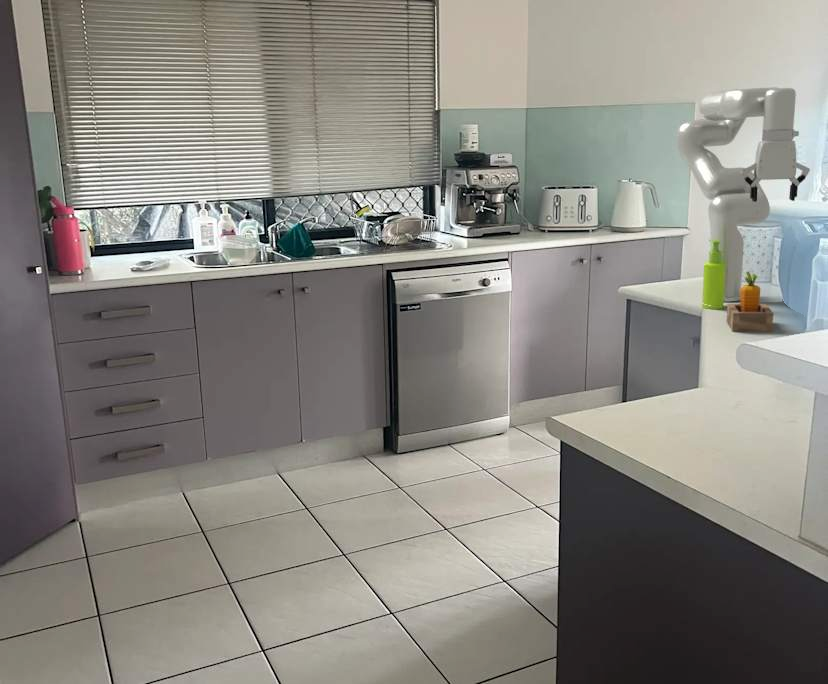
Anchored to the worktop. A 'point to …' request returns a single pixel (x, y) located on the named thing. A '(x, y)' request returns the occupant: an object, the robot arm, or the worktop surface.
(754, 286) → the carrot
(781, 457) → the worktop surface
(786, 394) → the worktop surface
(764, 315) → the holder
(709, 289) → the soap dispenser
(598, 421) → the worktop surface
